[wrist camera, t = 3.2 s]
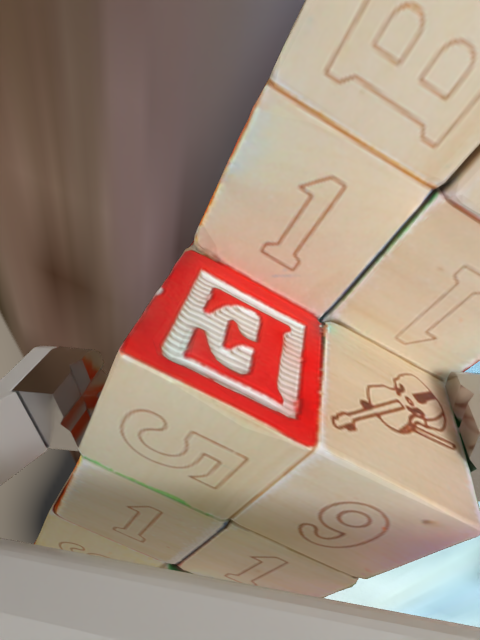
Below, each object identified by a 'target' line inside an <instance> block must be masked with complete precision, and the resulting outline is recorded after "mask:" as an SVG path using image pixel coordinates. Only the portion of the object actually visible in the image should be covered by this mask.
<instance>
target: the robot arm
mask: <svg viewBox="0 0 480 640" xmlns="http://www.w3.org/2000/svg"><path fill="white" fill-rule="evenodd" d="M103 364H104V362H103V359H102V357H101V354H100V352H98V351H96V350H92V349H80V348H69V347H53V346H38V347H35V348H33V349H32V350H31V351H30V352H29V353H28V354H27V355H26V356H25V357H24V358H23V359H22V360H21V361H20V362H19V363H18V364H16V365H15V366H14V367H13V368H12V369H11V370H10V371H9V372H8V373H7V374H6V375H5V376H4V377H3V378H2V379H1V380H0V486H1V485H2V484H3V483H5V482H6V481H7V480H9V479H10V478H11V477H12V476H14V475H15V474H16V473H18V472H19V471H20V470H22V469H23V468H24V467H26V466H27V465H28V464H30V463H31V462H32V461H34V460H35V459H36V458H38V457H39V456H40V455H42V454H43V453H44V452H46V451H47V448H50V449H61V450H72V451H79V449H78V448H79V445H80V443H81V441H82V438H83V436H84V433H85V431H86V429H87V426H88V424H89V421H90V419H91V416H92V414H93V411H94V409H95V406H96V404H97V401H98V399H99V396H100V394H101V392H102V389H103V387H104V385H105V382H106V380H107V377H108V376H107V375H106V374H105V373H104V372H103V371H102V370H101V368H102V366H103ZM445 388H446V391H447V394H448V397H449V400H450V403H451V406H452V409H453V412H454V416H455V420H456V423H457V427H458V431H459V434H460V438H461V441H462V445H463V448H464V452H465V455H466V459H467V463H468V466H469V470H470V473H471V477H472V482H473V486H474V490H475V494H476V497H477V501H480V373H468V372H451V373H450V374H449V376H448V378H447V381H446V385H445ZM0 640H480V628H479V627H474V626H469V625H463V624H458V623H453V622H447V621H442V620H437V619H431V618H426V617H421V616H415V615H410V614H405V613H399V612H394V611H389V610H383V609H378V608H373V607H367V606H362V605H357V604H351V603H346V602H341V601H335V600H330V599H325V598H319V597H314V596H309V595H303V594H298V593H293V592H287V591H282V590H277V589H271V588H266V587H261V586H255V585H250V584H245V583H239V582H234V581H229V580H223V579H218V578H213V577H207V576H202V575H196V574H191V573H186V572H180V571H175V570H170V569H164V568H159V567H154V566H148V565H143V564H138V563H132V562H127V561H122V560H116V559H111V558H105V557H100V556H95V555H89V554H84V553H79V552H73V551H68V550H63V549H57V548H52V547H46V546H41V545H36V544H30V543H25V542H20V541H14V540H8V539H3V538H0Z"/></svg>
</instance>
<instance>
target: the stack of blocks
mask: <svg viewBox="0 0 480 640" xmlns="http://www.w3.org/2000/svg"><path fill="white" fill-rule="evenodd" d="M478 361H480V0H305V2H304V4H303V6H302V8H301V11H300V13H299V15H298V17H297V19H296V21H295V23H294V25H293V27H292V29H291V31H290V34H289V36H288V38H287V40H286V42H285V44H284V46H283V48H282V50H281V53H280V55H279V57H278V59H277V62H276V64H275V66H274V68H273V71H272V73H271V75H270V78H269V79H268V81H267V83H266V85H265V87H264V89H263V90H262V92H261V94H260V96H259V98H258V99H257V101H256V103H255V105H254V107H253V109H252V111H251V113H250V116H249V119H248V121H247V123H246V125H245V127H244V129H243V131H242V132H241V134H240V137H239V139H238V141H237V143H236V145H235V147H234V150H233V152H232V154H231V156H230V158H229V160H228V163H227V165H226V167H225V169H224V172H223V174H222V176H221V179H220V181H219V183H218V185H217V187H216V190H215V192H214V194H213V196H212V198H211V200H210V202H209V205H208V207H207V209H206V211H205V213H204V215H203V217H202V220H201V222H200V224H199V226H198V229H197V231H196V234H195V236H194V241H193V243H192V244H191V245H190V247H189V248H187V249H185V251H184V252H183V254H182V255H181V257H180V258H179V260H178V261H177V262H176V264H175V265H174V267H173V269H172V271H171V272H170V274H169V276H168V277H167V278H166V280H165V281H164V283H163V284H162V285H161V287H160V288H159V289H158V291H157V292H156V293H155V295H154V297H153V298H152V300H151V301H150V303H149V304H148V306H147V307H146V309H145V310H144V312H143V313H142V315H141V316H140V318H139V320H138V321H137V323H136V324H135V326H134V327H133V329H132V330H131V331H130V333H129V334H128V336H127V338H126V339H125V341H124V342H123V344H122V345H121V347H120V348H119V351H118V353H117V355H116V358H115V360H114V362H113V365H112V367H111V370H110V372H109V375H108V377H107V380H106V382H105V385H104V387H103V389H102V392H101V394H100V396H99V399H98V401H97V404H96V406H95V409H94V411H93V414H92V416H91V419H90V421H89V424H88V426H87V429H86V431H85V433H84V436H83V438H82V441H81V443H80V445H79V448H78V449H79V451H80V454H81V456H80V458H79V460H78V462H77V464H76V466H75V468H74V470H73V471H72V473H71V475H70V477H69V478H68V480H67V482H66V483H65V485H64V487H63V488H62V490H61V492H60V494H59V495H58V497H57V499H56V500H55V502H54V504H53V505H52V507H51V509H50V511H49V513H48V515H47V518H46V520H45V522H44V525H43V527H42V530H41V532H40V534H39V536H38V538H37V540H36V542H35V543H34V544H36V545H41V546H46V547H52V548H57V549H63V550H68V551H73V552H79V553H84V554H89V555H95V556H100V557H105V558H111V559H116V560H122V561H127V562H132V563H138V564H143V565H148V566H154V567H159V568H164V569H170V570H175V571H180V572H186V573H191V574H196V575H202V576H207V577H213V578H218V579H223V580H229V581H234V582H239V583H245V584H250V585H255V586H261V587H266V588H271V589H277V590H282V591H287V592H293V593H298V594H303V595H309V596H314V597H319V598H324V597H326V596H328V595H331V594H333V593H335V592H338V591H341V590H344V589H347V588H350V587H352V586H353V585H354V584H356V582H357V580H358V578H362V579H368V578H371V577H373V576H376V575H379V574H381V573H384V572H386V571H389V570H392V569H394V568H397V567H399V566H402V565H405V564H407V563H410V562H412V561H415V560H417V559H420V558H422V557H425V556H428V555H430V554H433V553H435V552H438V551H440V550H443V549H445V548H448V547H451V546H453V545H456V544H459V543H462V542H464V541H467V540H470V539H472V538H475V537H477V536H479V535H480V508H479V504H478V501H477V497H476V494H475V490H474V486H473V482H472V477H471V473H470V470H469V466H468V463H467V459H466V455H465V452H464V448H463V445H462V441H461V438H460V434H459V431H458V427H457V423H456V420H455V416H454V412H453V409H452V406H451V403H450V400H449V397H448V394H447V391H446V388H445V385H446V381H447V378H448V376H449V374H450V373H451V372H464V371H466V370H467V369H469V368H470V367H471V366H473V365H474V364H476V363H477V362H478Z"/></svg>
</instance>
